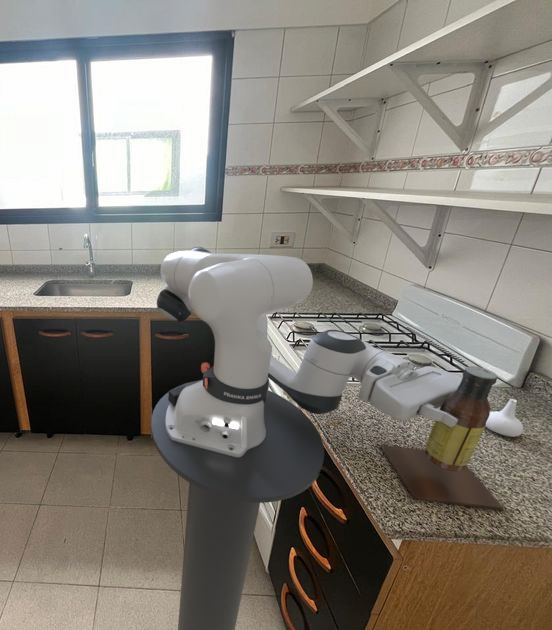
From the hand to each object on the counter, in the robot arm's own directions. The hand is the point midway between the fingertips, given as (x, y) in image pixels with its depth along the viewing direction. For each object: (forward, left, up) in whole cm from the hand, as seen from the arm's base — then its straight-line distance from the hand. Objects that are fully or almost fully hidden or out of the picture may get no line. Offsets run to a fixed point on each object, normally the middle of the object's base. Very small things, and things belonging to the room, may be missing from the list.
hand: (469, 417), depth 61 cm
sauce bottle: (0, +1, -11) cm, 11 cm away
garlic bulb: (+22, +17, -15) cm, 31 cm away
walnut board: (0, +1, -15) cm, 15 cm away
